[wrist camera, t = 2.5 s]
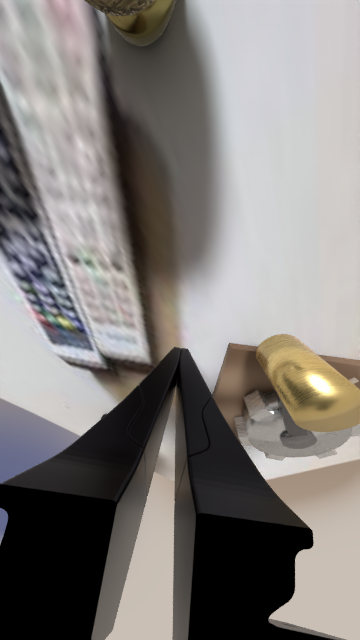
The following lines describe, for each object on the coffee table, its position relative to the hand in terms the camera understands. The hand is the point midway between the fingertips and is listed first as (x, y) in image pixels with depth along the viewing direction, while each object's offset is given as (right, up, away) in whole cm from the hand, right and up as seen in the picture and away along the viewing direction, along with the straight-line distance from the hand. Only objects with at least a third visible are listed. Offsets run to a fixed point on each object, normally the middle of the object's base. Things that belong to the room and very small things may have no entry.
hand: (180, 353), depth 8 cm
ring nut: (+10, -6, +6) cm, 13 cm away
